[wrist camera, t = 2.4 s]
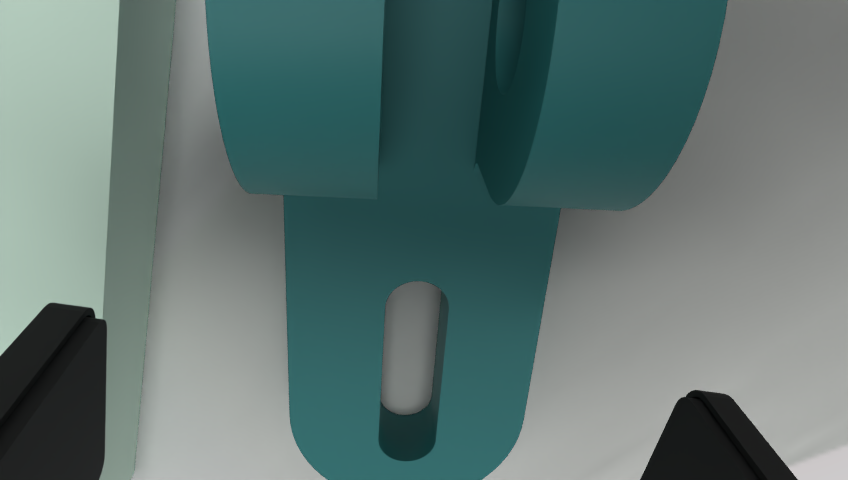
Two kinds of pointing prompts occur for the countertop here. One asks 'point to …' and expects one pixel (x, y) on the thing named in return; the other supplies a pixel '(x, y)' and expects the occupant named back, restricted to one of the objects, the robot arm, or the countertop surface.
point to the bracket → (442, 188)
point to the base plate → (84, 178)
